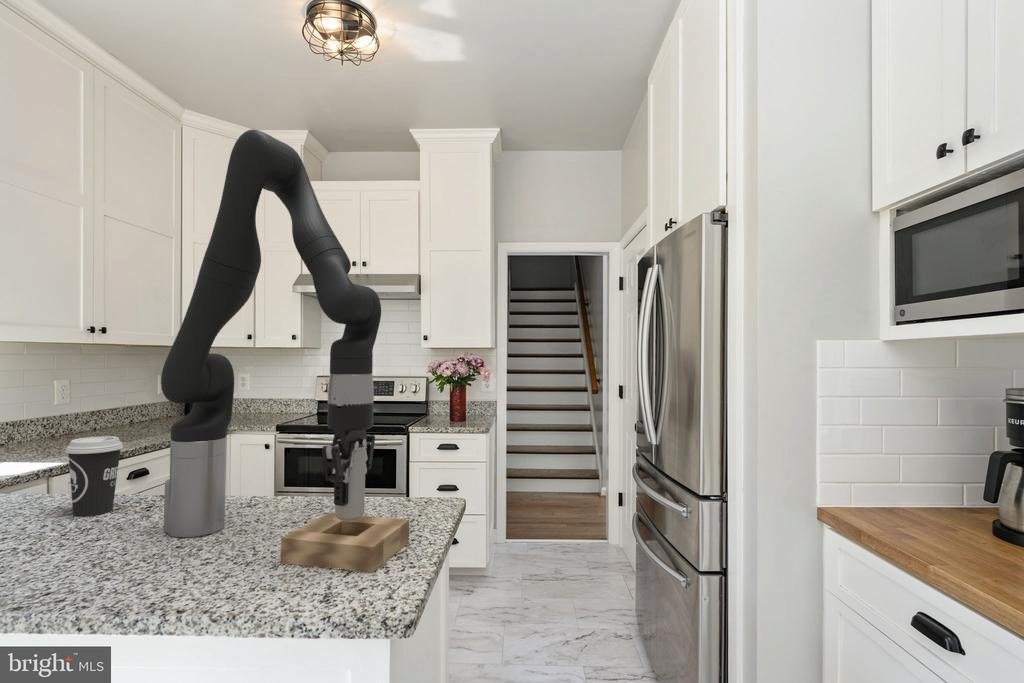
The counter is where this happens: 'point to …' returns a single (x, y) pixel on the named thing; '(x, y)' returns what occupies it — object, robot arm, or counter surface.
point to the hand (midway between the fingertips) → (349, 500)
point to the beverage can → (354, 489)
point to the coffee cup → (93, 474)
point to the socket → (345, 542)
